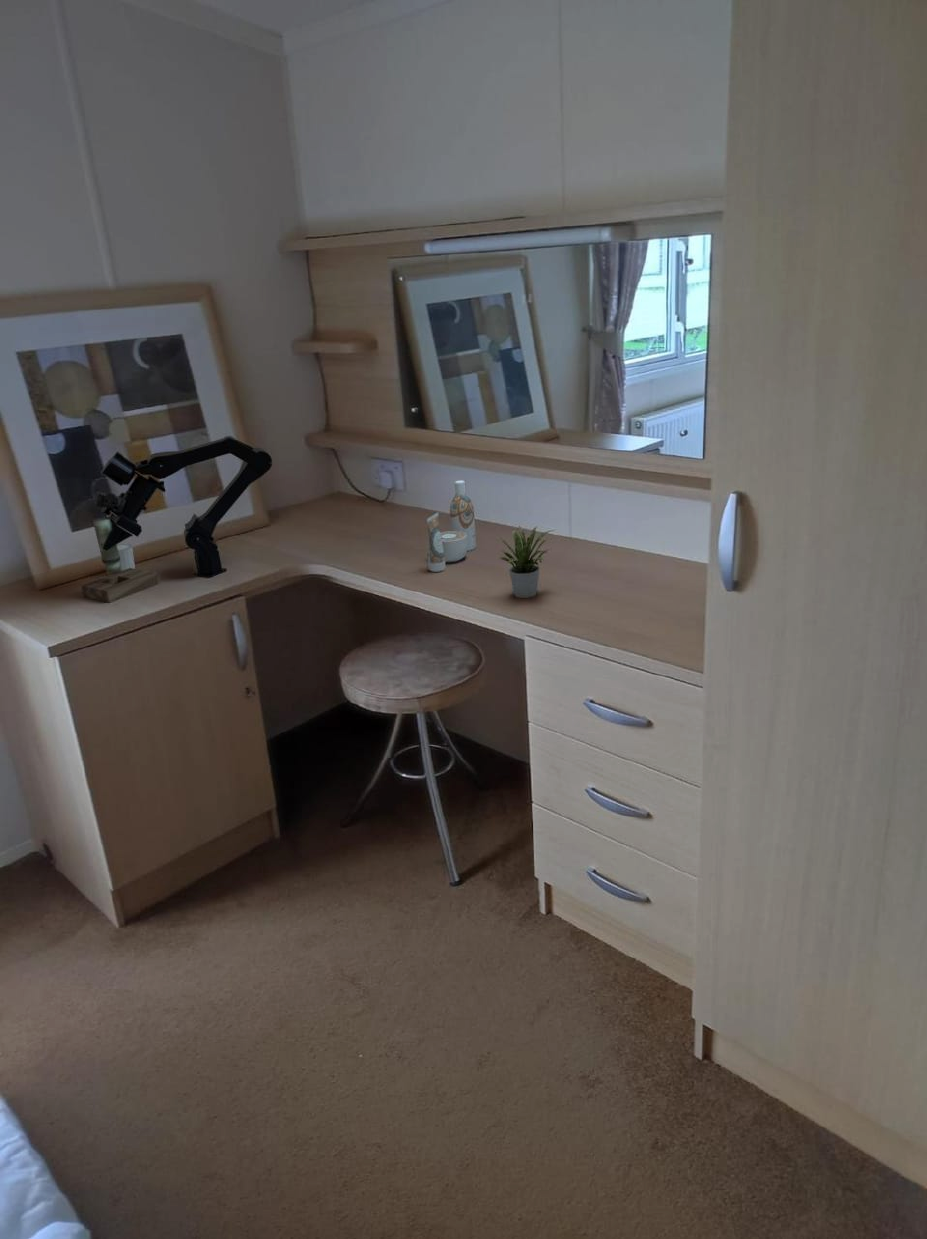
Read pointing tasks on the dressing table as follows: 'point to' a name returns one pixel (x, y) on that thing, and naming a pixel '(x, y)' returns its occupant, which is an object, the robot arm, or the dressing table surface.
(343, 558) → the dressing table surface
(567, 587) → the dressing table surface
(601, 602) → the dressing table surface
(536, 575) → the house plant
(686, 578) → the dressing table surface
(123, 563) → the shot glass
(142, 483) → the robot arm
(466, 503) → the cosmetic set
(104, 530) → the peg
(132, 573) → the board
